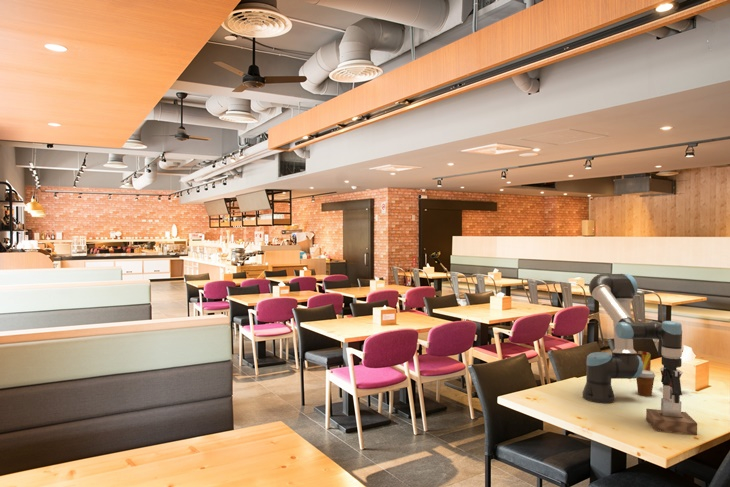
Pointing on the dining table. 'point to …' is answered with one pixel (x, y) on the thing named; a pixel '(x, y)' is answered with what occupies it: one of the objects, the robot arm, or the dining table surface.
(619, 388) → the dining table surface
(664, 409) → the pale grey rectangular block
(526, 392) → the dining table surface
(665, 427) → the socket block
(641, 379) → the disposable coffee cup
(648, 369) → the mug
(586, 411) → the dining table surface
